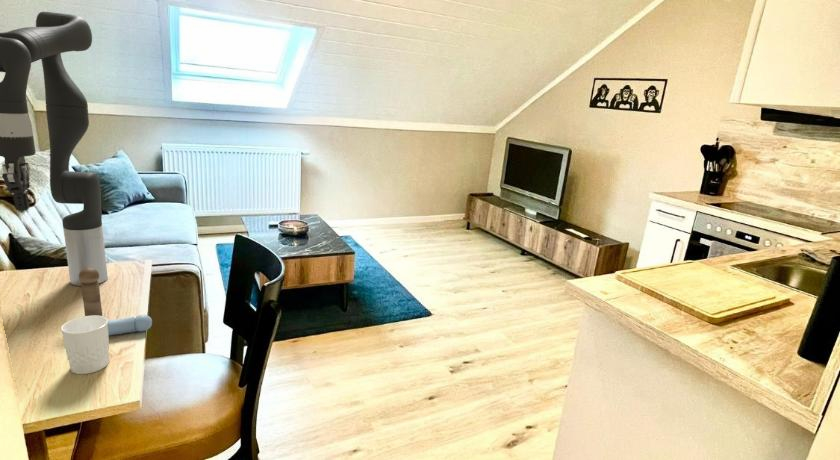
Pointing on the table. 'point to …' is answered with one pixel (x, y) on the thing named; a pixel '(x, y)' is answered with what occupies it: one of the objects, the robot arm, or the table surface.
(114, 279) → the table surface
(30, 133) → the robot arm
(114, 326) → the blue pin
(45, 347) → the table surface
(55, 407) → the table surface
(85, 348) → the white cup
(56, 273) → the table surface
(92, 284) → the walnut pin
